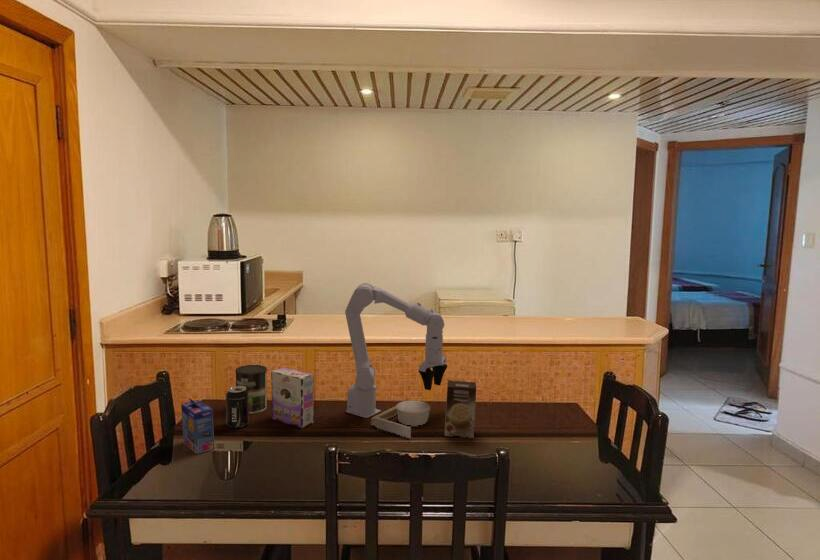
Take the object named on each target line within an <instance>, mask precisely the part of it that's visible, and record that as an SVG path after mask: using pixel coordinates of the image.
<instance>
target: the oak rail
mask: <svg viewBox="0 0 820 560" xmlns="http://www.w3.org/2000/svg"><path fill="white" fill-rule="evenodd" d="M396 415H397V410H396V405H395V406H393V407H390V408H388V409H387V410H385V411H381V413H380V412H379V413H377V414H375V415H373V417H372V416H371V418H370V426H371V425H375V424H376V418H377V417H378V418H382V419H385V420H387V419H389V418H391V417H393V418H394V416H395V417H397V416H398V415H397V416H396ZM391 419H392V418H391ZM389 420H390V419H389Z"/></svg>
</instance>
